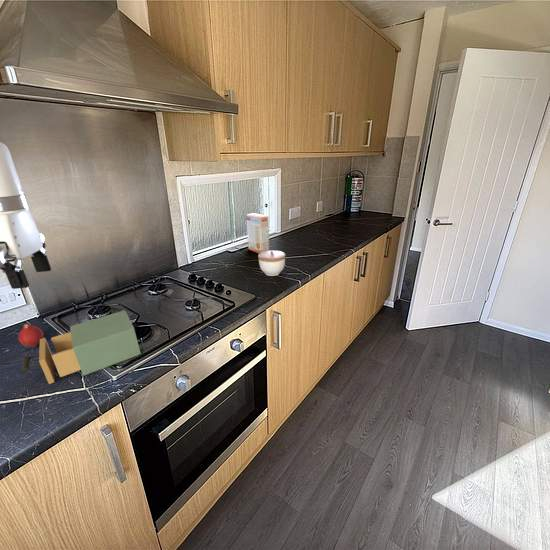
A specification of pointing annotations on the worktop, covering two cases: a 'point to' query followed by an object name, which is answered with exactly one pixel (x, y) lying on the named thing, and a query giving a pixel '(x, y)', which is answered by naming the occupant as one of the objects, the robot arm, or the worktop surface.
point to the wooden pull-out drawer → (54, 358)
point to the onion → (30, 335)
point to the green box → (104, 342)
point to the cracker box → (257, 232)
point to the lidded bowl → (272, 262)
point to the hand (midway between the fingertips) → (33, 278)
